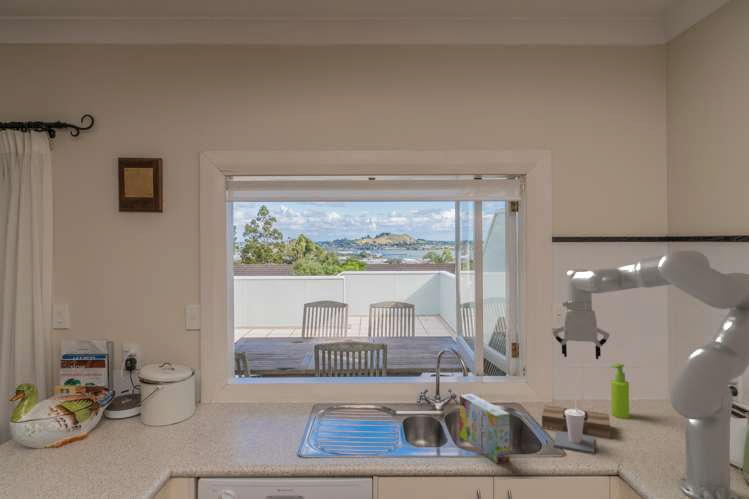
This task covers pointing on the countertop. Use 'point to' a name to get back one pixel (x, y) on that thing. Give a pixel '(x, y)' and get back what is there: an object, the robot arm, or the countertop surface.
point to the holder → (592, 424)
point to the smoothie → (575, 424)
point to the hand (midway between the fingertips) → (581, 357)
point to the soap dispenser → (620, 393)
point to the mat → (564, 443)
